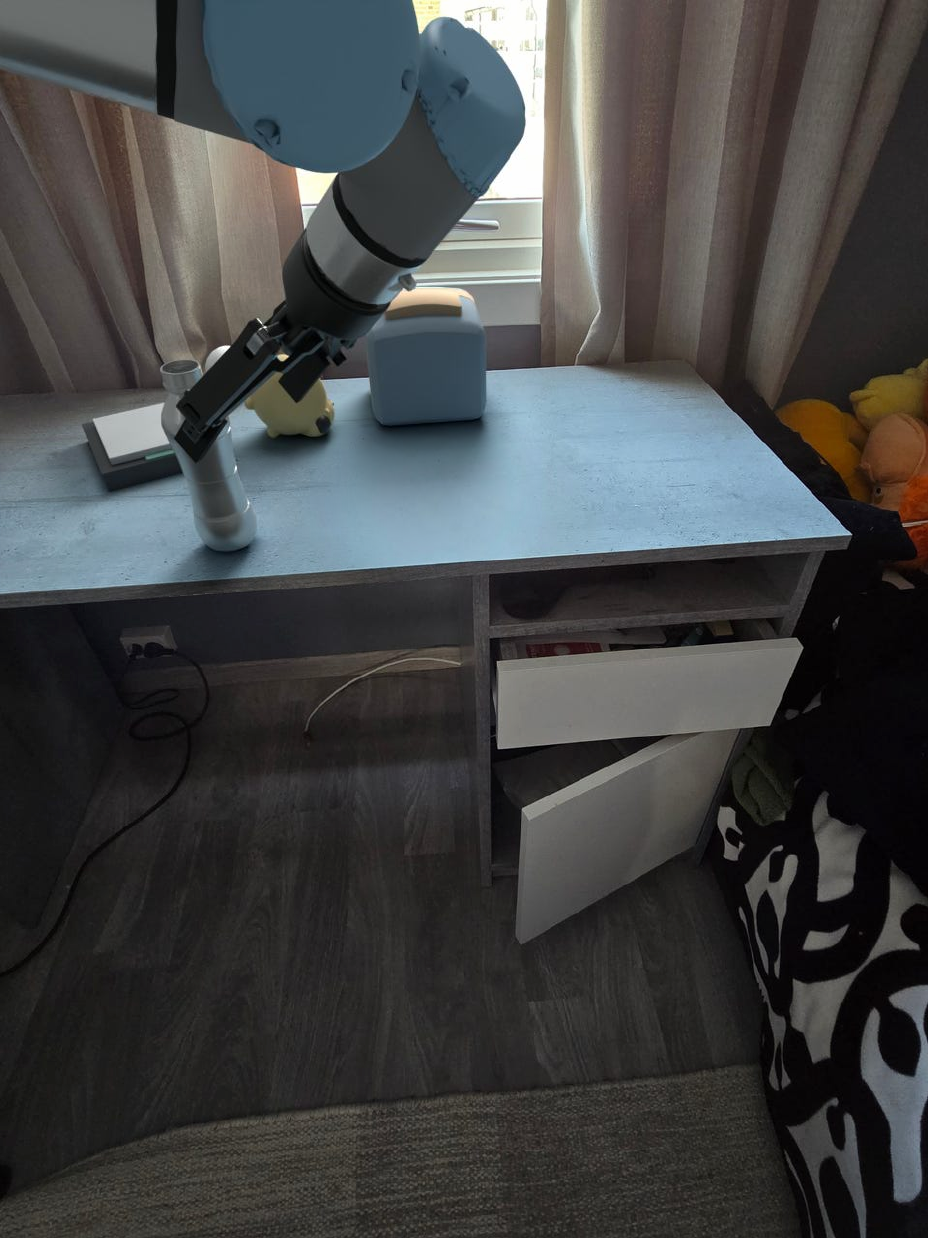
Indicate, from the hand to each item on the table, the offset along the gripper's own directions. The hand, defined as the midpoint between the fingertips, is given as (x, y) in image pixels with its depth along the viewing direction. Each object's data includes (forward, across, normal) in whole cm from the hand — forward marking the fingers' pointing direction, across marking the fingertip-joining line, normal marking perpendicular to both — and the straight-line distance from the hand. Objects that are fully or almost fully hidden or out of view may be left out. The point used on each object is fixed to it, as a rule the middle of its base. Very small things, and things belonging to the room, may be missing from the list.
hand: (242, 418), depth 65 cm
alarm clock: (+16, +41, -7) cm, 45 cm away
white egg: (+36, +31, +13) cm, 49 cm away
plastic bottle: (+16, 0, -7) cm, 18 cm away
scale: (+33, +12, +10) cm, 37 cm away
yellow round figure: (+24, +25, +1) cm, 35 cm away
